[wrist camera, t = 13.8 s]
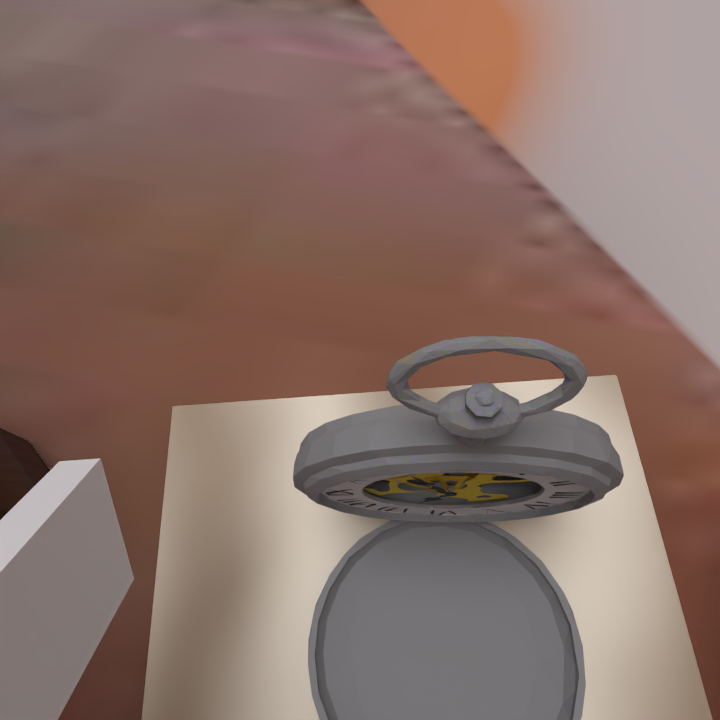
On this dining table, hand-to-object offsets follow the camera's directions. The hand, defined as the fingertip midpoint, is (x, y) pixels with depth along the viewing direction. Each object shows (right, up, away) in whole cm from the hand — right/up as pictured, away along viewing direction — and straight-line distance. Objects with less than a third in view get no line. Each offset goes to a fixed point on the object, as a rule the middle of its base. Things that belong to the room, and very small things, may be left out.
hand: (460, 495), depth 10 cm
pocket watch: (0, -4, +5) cm, 6 cm away
